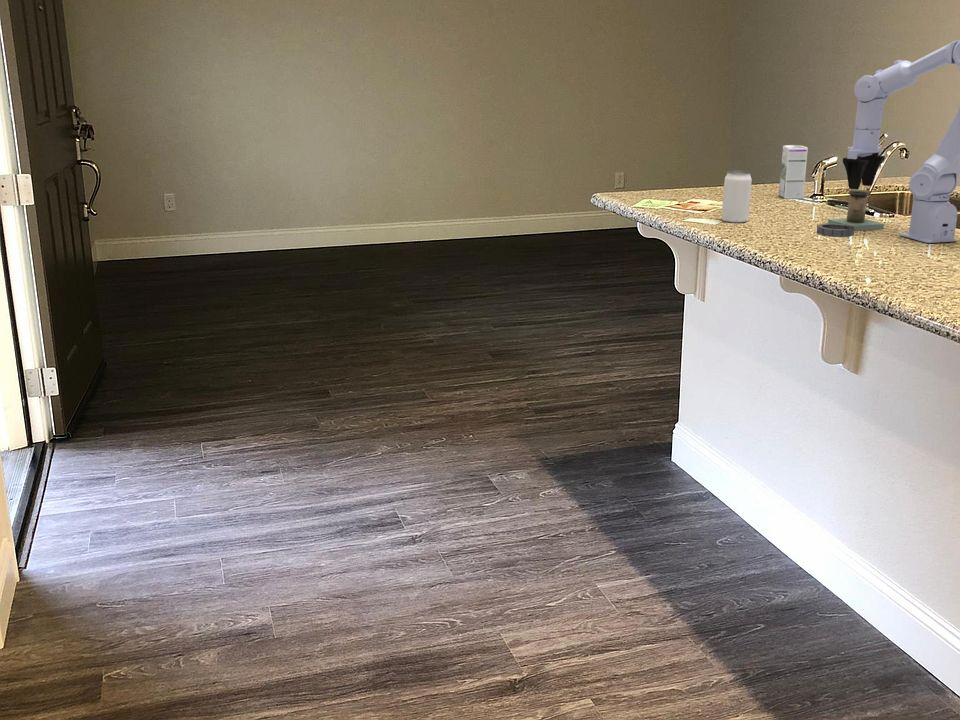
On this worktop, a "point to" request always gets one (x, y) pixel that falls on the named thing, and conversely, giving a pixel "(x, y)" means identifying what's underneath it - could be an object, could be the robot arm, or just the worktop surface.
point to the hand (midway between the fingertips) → (860, 187)
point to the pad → (858, 224)
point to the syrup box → (793, 172)
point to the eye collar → (835, 230)
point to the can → (736, 197)
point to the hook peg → (857, 206)
